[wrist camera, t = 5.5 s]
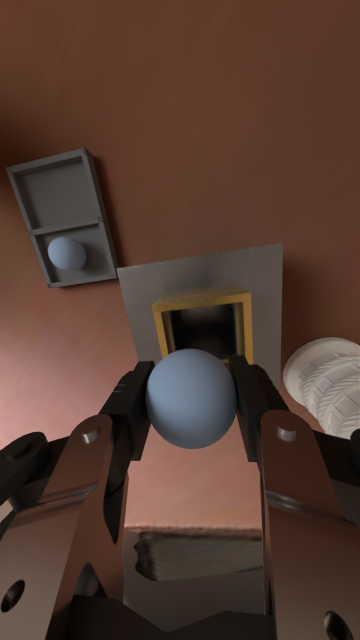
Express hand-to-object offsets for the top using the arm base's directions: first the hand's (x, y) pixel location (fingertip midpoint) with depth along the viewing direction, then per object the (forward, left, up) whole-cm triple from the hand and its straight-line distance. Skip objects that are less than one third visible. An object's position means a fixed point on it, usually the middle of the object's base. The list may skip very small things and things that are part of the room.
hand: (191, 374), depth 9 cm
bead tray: (+15, -12, -17) cm, 25 cm away
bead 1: (+15, -9, -16) cm, 24 cm away
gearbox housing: (-1, +3, -17) cm, 17 cm away
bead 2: (-1, 0, 0) cm, 1 cm away
